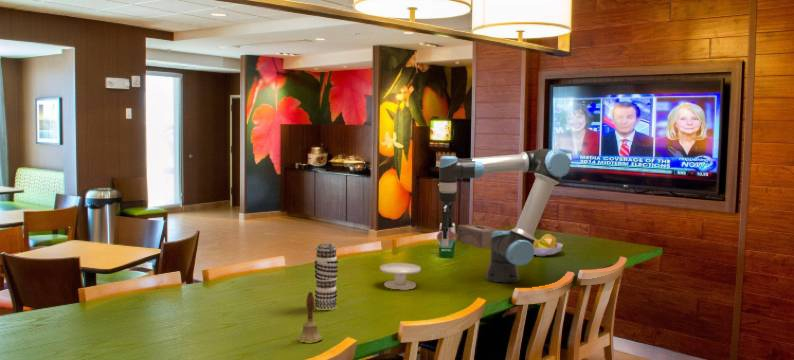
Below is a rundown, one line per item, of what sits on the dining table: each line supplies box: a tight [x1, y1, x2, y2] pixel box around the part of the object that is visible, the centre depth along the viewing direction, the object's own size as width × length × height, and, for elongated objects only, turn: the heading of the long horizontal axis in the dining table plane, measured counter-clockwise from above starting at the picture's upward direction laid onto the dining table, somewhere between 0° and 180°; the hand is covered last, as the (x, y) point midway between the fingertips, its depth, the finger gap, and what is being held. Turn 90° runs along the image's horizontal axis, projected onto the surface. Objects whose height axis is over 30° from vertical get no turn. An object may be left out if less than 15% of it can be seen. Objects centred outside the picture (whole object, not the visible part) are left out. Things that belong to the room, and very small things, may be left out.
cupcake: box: [436, 231, 457, 248], centre depth 286 cm, size 9×8×12 cm
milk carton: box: [438, 222, 457, 259], centre depth 358 cm, size 9×9×20 cm
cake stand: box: [379, 262, 422, 291], centre depth 293 cm, size 18×18×8 cm
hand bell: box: [298, 291, 323, 341], centre depth 220 cm, size 8×8×16 cm
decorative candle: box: [313, 243, 339, 309], centre depth 256 cm, size 9×9×25 cm
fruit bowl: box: [533, 233, 563, 257], centre depth 373 cm, size 28×27×11 cm
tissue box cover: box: [456, 223, 504, 249], centre depth 399 cm, size 26×14×10 cm, turn 29°
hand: (446, 244), depth 287 cm, fingers closed on cupcake, 8 cm apart
